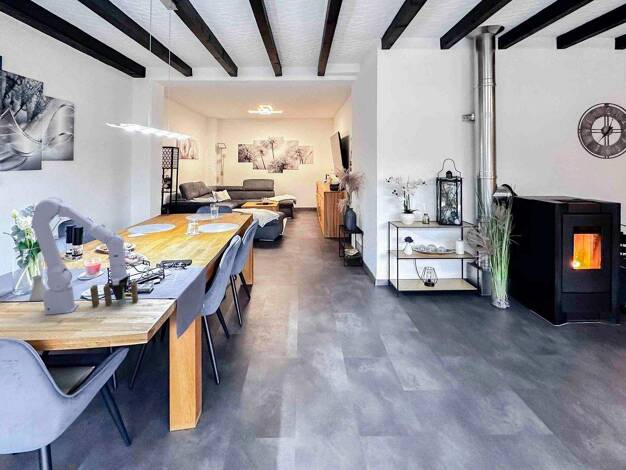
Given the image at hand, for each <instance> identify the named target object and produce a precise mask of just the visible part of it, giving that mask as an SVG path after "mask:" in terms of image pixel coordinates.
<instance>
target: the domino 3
mask: <svg viewBox="0 0 626 470" xmlns="http://www.w3.org/2000/svg"><path fill="white" fill-rule="evenodd" d="M125 295H126V294H125V293H124V288H123V298H122V300H118V304H119V306H123V305H124V304H125V302H126V297H125Z"/></svg>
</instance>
